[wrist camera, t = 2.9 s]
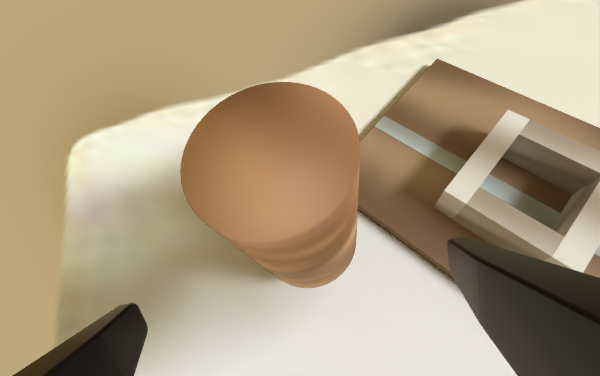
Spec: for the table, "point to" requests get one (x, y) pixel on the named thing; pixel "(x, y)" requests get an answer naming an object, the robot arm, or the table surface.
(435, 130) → the brown board with rail
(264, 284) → the table surface
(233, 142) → the tapered tan cup
